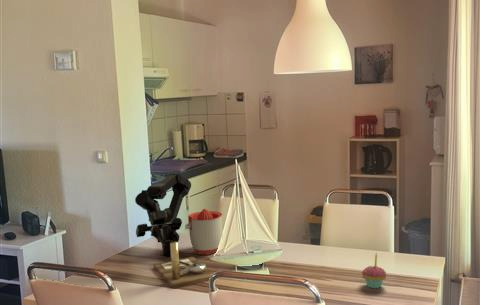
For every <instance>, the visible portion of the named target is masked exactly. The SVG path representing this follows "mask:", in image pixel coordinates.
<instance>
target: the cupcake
mask: <svg viewBox="0 0 480 305" xmlns="http://www.w3.org/2000/svg"><path fill="white" fill-rule="evenodd" d="M377 260H378V255H377V252H375V254H374V265H372V266H371V265H370V266H367V267H365V268H364V269H363V270H362V272H361V276H362V278H363V279H364V280H365V283H366V286H367V287H368V288H369V287H371V288H370V289H373V288H377V289H380V288H381V287H382V284H383V282H384V280H386V279H387V272H386V271H385V270H384V268H382V267H379V266H377V264H378V263H377V262H378V261H377ZM379 287H380V288H379Z"/></svg>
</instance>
